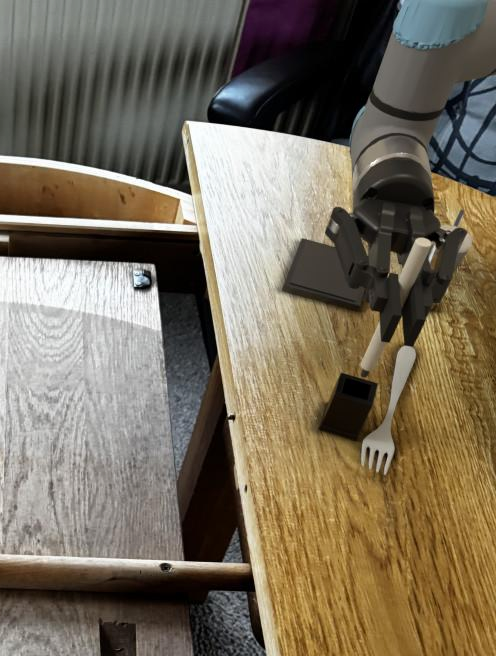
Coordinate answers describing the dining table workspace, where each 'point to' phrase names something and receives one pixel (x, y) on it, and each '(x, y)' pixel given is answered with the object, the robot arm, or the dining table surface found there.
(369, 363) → the stylus
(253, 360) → the dining table surface
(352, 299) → the tablet
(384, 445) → the fork
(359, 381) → the pen stand
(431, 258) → the milkshake
